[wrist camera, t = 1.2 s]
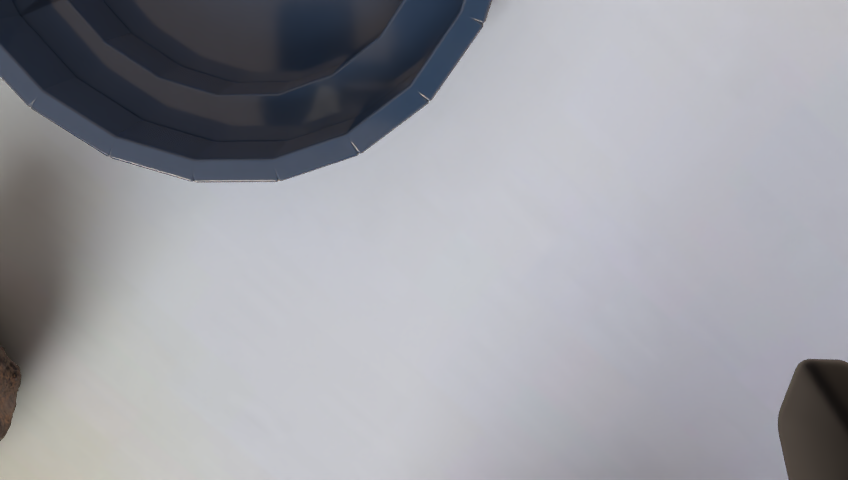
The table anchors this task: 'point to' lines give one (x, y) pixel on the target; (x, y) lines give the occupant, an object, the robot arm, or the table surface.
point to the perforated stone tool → (7, 390)
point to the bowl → (232, 76)
